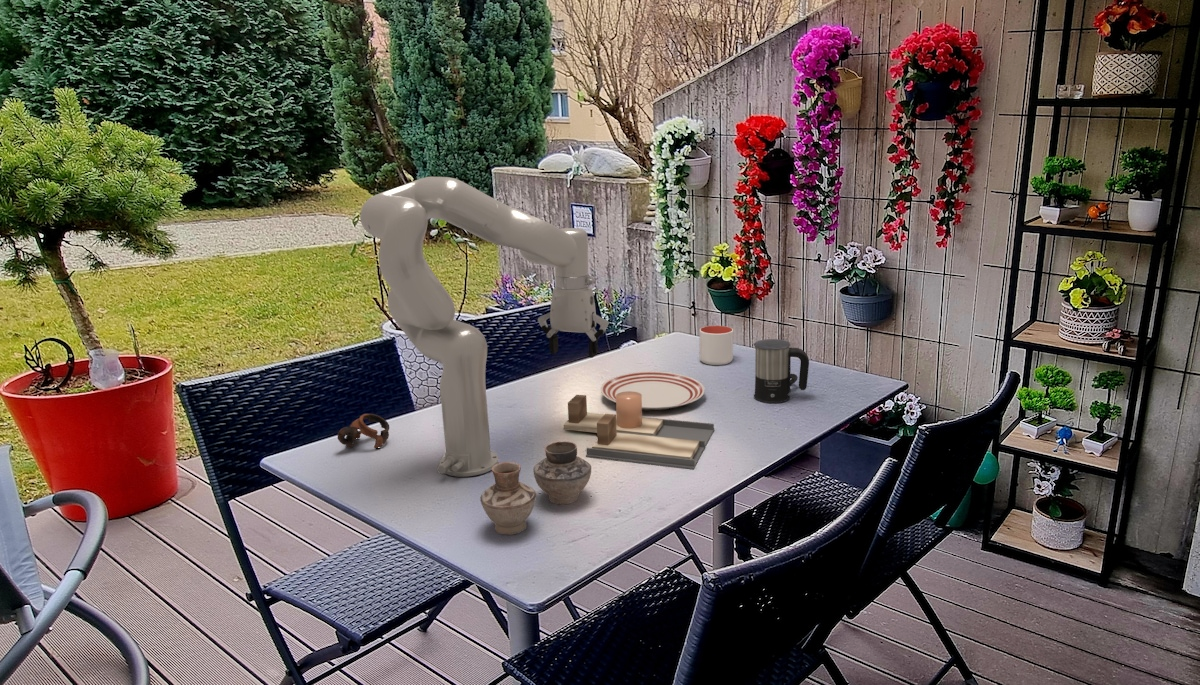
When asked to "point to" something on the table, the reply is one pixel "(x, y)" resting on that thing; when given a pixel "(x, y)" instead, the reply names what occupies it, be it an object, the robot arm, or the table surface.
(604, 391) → the dinner plate
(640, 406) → the canister
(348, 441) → the brown curved loop
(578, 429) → the strip
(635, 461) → the lane frame
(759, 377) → the milk frother
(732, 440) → the table surface
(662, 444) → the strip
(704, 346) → the cup
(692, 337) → the table surface
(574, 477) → the pottery
